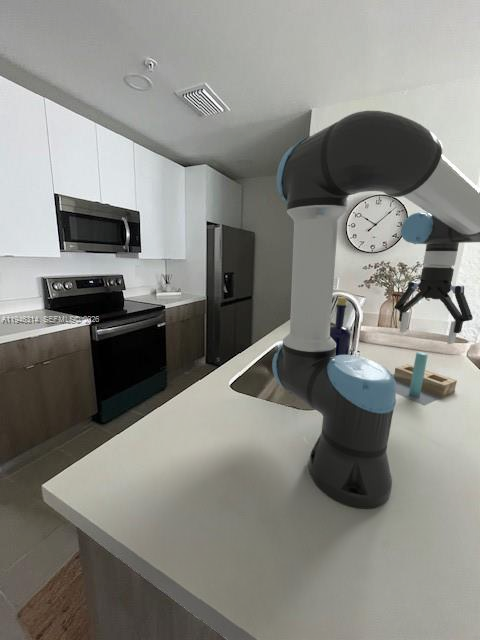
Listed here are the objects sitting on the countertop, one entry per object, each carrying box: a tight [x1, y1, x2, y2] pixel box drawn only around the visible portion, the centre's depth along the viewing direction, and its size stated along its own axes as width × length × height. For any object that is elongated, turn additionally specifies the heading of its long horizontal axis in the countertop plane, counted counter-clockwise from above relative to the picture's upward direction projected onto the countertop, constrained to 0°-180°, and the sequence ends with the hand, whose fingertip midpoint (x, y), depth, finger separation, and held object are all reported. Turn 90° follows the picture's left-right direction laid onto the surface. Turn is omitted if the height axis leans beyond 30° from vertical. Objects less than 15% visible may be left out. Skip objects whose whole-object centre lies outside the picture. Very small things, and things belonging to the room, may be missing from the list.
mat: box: [392, 373, 452, 406], centre depth 94 cm, size 20×18×1 cm
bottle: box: [330, 296, 352, 356], centre depth 94 cm, size 9×9×30 cm
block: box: [393, 363, 458, 398], centre depth 95 cm, size 8×16×4 cm, turn 30°
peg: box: [409, 351, 429, 397], centre depth 86 cm, size 3×3×14 cm
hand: (425, 337), depth 83 cm, fingers open, 13 cm apart
